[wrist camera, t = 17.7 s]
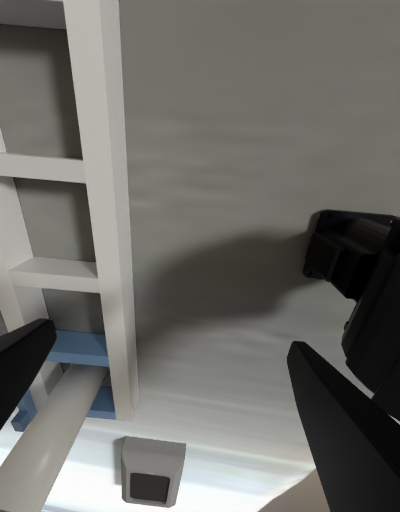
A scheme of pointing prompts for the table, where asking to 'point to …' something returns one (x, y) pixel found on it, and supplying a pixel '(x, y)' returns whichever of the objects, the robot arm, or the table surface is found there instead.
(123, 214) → the white and blue ladder
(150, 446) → the gray box with screen
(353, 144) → the table surface
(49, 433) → the white capped cylinder
